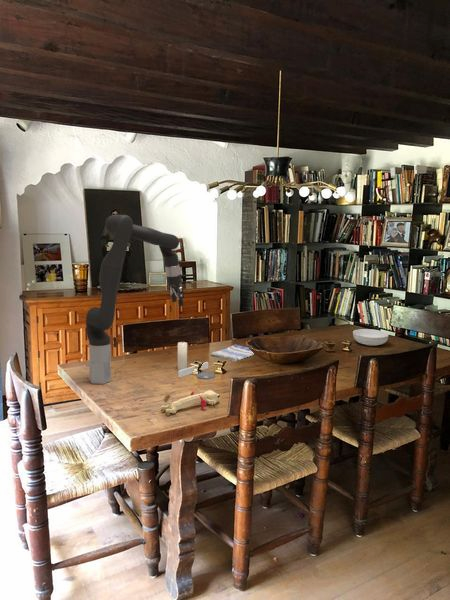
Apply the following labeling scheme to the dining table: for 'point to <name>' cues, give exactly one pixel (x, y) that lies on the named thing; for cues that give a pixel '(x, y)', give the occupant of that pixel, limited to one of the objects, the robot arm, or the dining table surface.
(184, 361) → the candle
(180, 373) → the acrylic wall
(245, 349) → the dish towel
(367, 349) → the dining table surface
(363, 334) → the serving bowl
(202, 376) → the coaster
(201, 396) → the rope dog toy
